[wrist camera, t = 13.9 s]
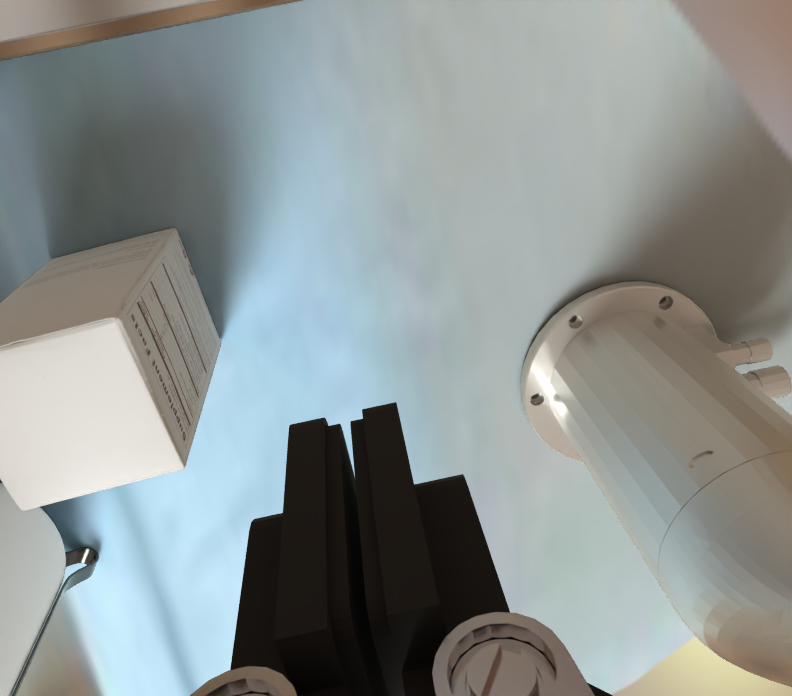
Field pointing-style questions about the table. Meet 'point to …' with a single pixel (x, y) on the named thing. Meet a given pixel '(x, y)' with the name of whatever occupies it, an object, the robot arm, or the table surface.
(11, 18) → the slot block
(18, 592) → the coffee press
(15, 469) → the supplement box
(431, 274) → the table surface
